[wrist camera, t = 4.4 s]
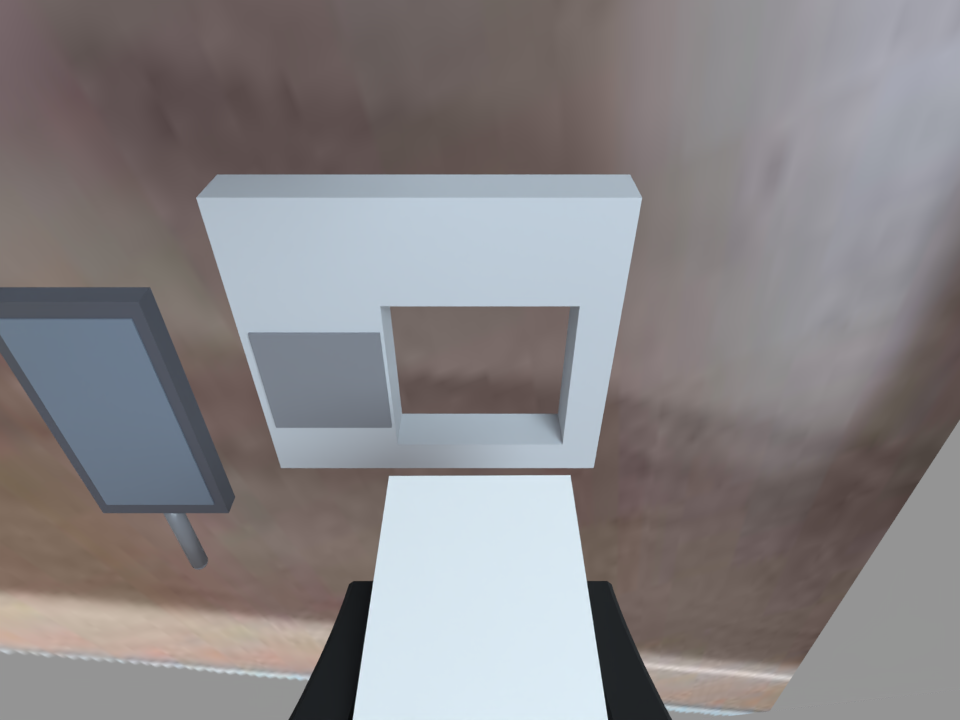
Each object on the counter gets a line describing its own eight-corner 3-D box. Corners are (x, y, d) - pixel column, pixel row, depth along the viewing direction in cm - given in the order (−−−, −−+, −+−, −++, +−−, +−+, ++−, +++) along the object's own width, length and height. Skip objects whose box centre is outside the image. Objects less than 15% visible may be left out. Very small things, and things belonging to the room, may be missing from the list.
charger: (404, 574, 16) (368, 915, 10) (389, 476, 13) (332, 860, 8) (556, 574, 16) (594, 914, 10) (570, 475, 13) (629, 860, 8)
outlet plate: (291, 437, 22) (280, 470, 21) (217, 174, 16) (194, 199, 15) (587, 437, 22) (594, 470, 21) (630, 174, 16) (643, 199, 15)
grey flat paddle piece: (150, 557, 27) (141, 574, 26) (-15, 287, 18) (-34, 302, 17) (260, 557, 27) (254, 574, 26) (150, 287, 18) (137, 302, 17)
